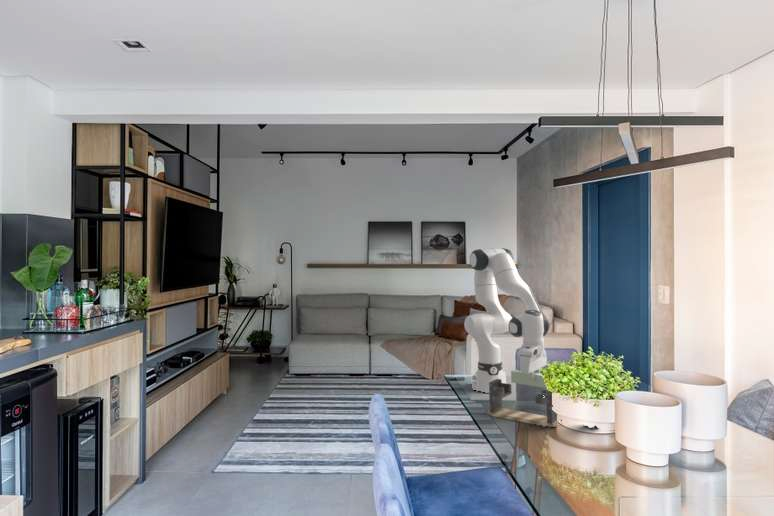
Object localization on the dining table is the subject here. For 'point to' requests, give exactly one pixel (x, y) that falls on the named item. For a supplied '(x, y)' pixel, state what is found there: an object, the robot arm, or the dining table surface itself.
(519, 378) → the rail
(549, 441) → the dining table surface
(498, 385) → the rail stand
